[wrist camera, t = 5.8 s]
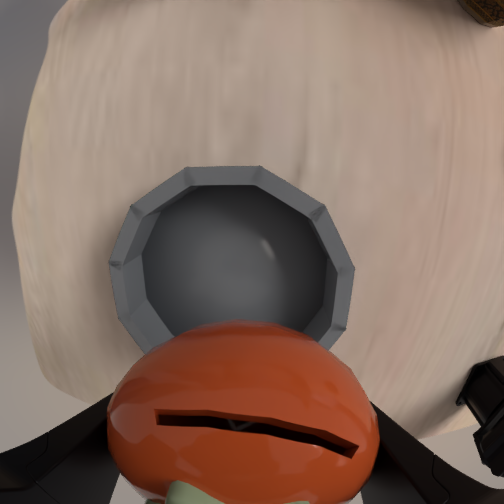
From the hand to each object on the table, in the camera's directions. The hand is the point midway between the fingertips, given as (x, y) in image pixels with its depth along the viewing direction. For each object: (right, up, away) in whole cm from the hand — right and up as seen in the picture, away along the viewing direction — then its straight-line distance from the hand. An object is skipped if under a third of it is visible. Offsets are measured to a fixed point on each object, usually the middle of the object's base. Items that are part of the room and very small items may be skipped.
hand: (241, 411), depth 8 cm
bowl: (-1, +3, +12) cm, 13 cm away
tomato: (0, +1, +2) cm, 2 cm away
